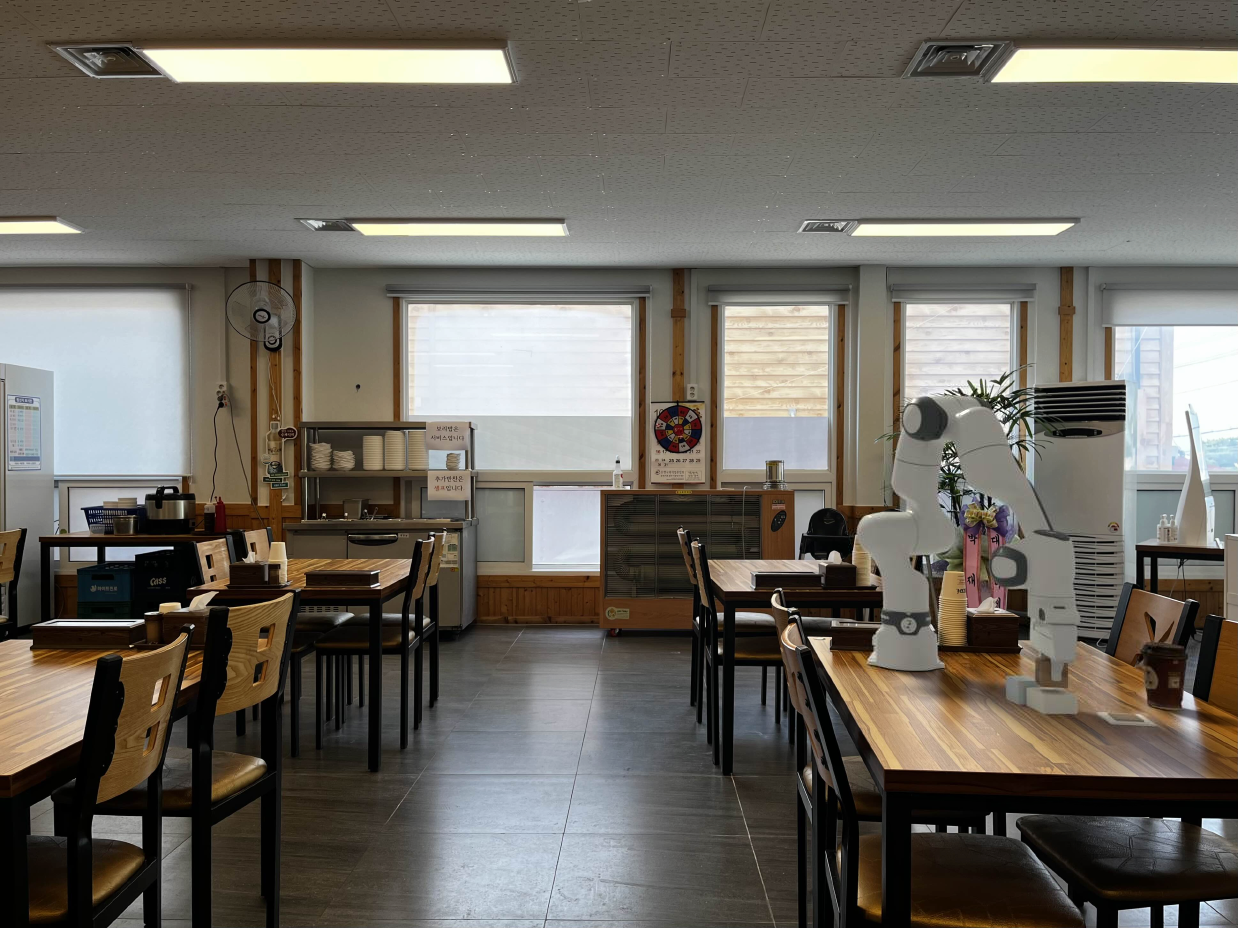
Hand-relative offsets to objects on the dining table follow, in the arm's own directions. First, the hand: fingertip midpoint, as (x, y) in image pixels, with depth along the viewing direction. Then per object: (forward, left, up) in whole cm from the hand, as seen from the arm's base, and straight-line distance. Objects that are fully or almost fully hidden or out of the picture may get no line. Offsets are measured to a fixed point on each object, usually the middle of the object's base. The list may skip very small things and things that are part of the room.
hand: (1051, 676), depth 186 cm
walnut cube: (0, 0, -2) cm, 2 cm away
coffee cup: (-8, +24, -7) cm, 26 cm away
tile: (+6, +12, -7) cm, 15 cm away
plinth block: (0, 0, -7) cm, 7 cm away
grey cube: (-6, -4, -7) cm, 10 cm away
